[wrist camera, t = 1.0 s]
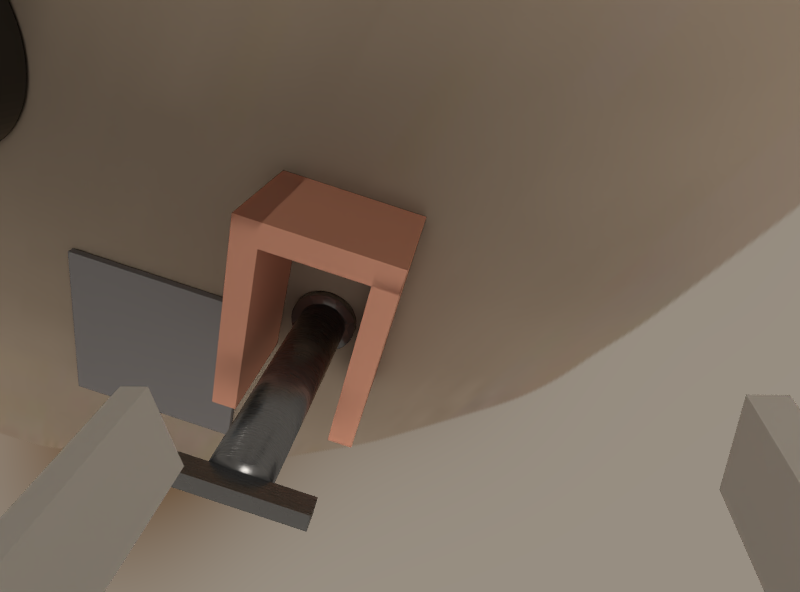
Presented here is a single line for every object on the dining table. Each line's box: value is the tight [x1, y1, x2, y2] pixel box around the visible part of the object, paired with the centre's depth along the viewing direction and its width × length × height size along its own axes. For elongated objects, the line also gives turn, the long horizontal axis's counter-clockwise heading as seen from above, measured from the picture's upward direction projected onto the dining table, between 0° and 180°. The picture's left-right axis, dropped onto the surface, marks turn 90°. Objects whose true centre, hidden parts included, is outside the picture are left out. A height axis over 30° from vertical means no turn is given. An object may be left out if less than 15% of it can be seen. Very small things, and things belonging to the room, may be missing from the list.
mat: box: [68, 248, 234, 434], centre depth 40 cm, size 13×13×1 cm
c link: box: [212, 170, 426, 447], centre depth 32 cm, size 9×13×7 cm
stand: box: [171, 291, 356, 531], centre depth 30 cm, size 8×4×15 cm, turn 75°
